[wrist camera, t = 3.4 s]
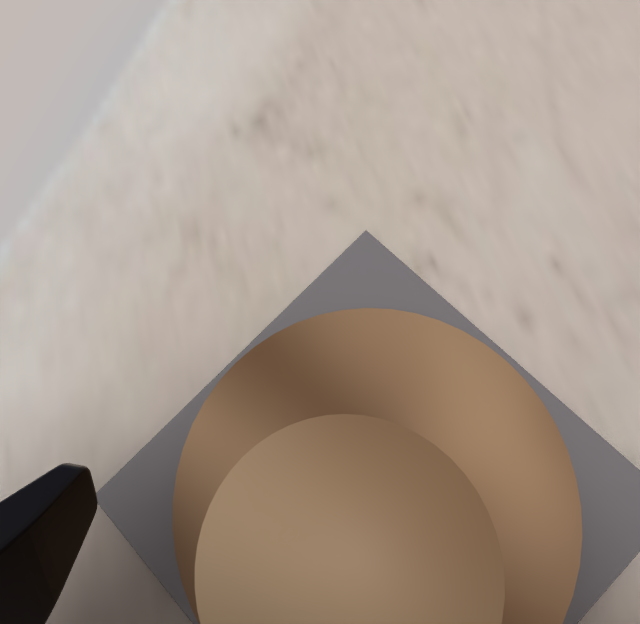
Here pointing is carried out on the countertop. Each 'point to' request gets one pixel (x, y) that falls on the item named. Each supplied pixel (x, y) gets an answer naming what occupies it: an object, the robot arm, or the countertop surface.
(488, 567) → the tan post on disk
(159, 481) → the mat
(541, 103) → the countertop surface
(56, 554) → the robot arm
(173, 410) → the countertop surface
